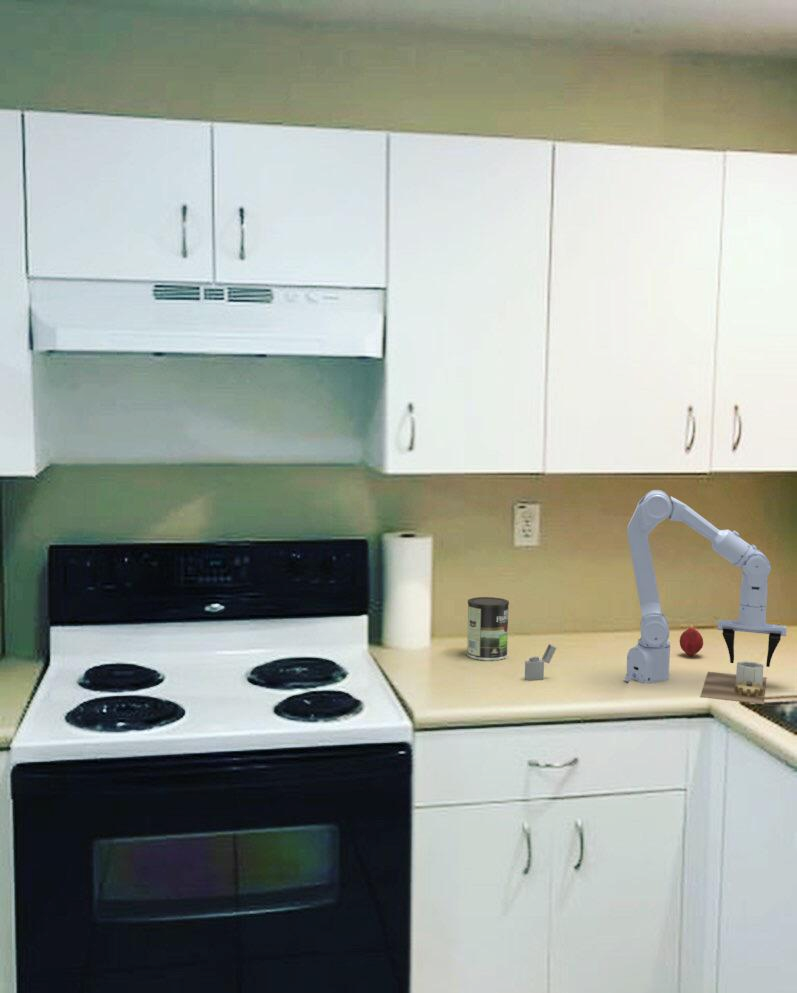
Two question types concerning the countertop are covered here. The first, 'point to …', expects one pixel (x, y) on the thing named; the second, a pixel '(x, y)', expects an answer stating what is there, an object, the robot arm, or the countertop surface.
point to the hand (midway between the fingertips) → (749, 663)
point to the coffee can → (487, 628)
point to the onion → (691, 641)
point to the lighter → (538, 665)
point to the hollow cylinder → (749, 672)
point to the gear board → (732, 688)
